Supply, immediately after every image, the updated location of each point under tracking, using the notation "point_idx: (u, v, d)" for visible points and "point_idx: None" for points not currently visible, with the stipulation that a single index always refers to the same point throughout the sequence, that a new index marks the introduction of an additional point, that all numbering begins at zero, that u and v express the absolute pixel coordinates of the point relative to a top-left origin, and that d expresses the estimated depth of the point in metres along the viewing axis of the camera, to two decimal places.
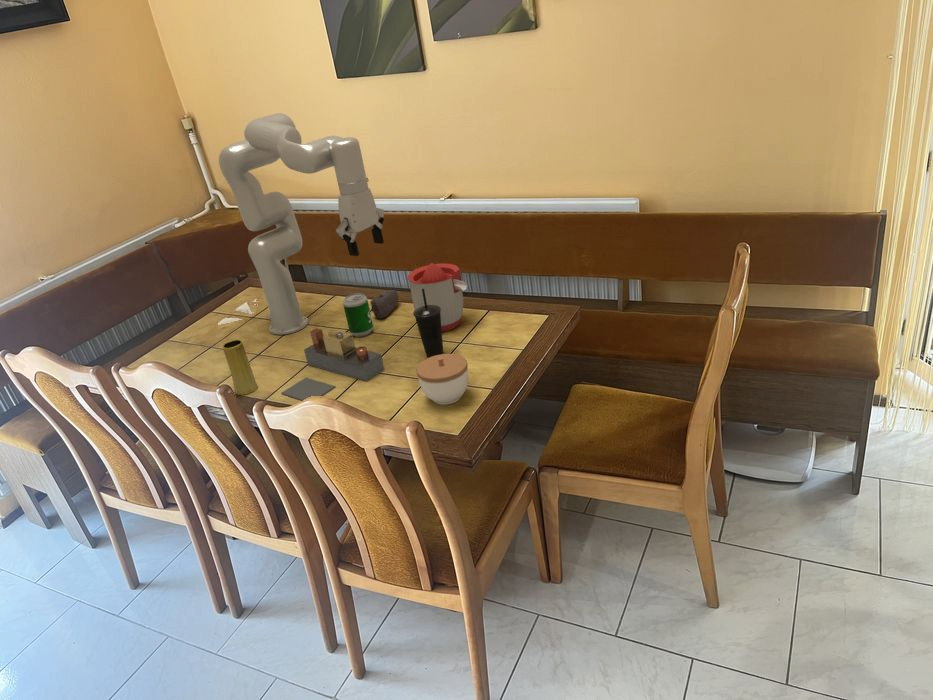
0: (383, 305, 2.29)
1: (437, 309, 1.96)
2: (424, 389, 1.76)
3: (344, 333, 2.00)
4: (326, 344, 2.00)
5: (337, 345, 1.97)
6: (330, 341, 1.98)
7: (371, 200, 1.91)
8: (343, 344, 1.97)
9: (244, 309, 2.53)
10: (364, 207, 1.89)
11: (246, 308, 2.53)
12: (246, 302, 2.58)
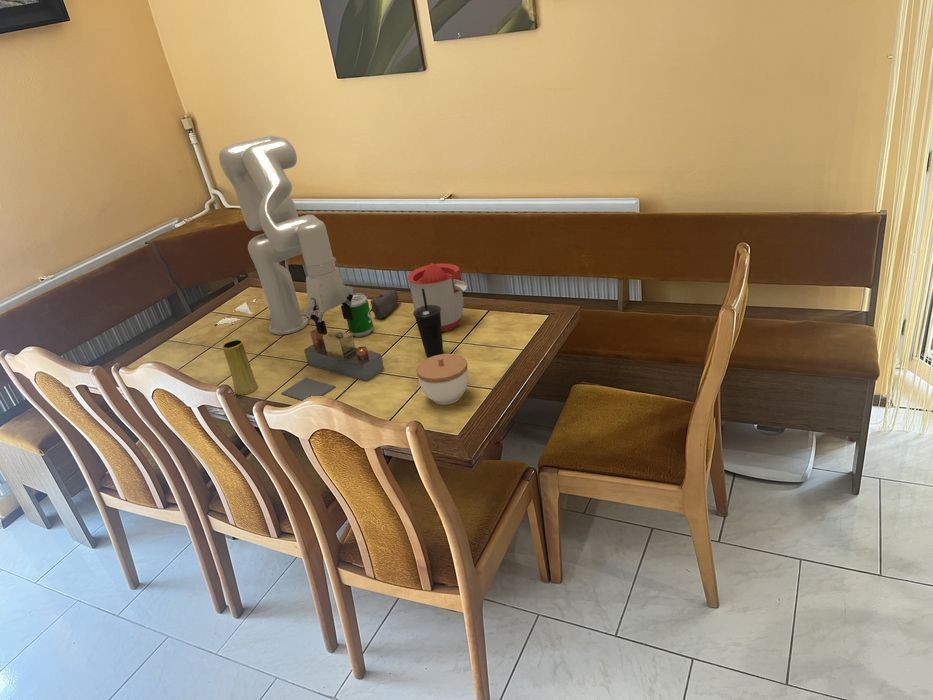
0: (383, 305, 2.29)
1: (437, 309, 1.96)
2: (424, 389, 1.76)
3: (344, 333, 2.00)
4: (326, 344, 2.00)
5: (337, 345, 1.97)
6: (330, 341, 1.98)
7: (338, 280, 1.93)
8: (343, 344, 1.97)
9: (243, 309, 2.54)
10: (332, 287, 1.91)
11: (245, 308, 2.54)
12: (245, 302, 2.58)
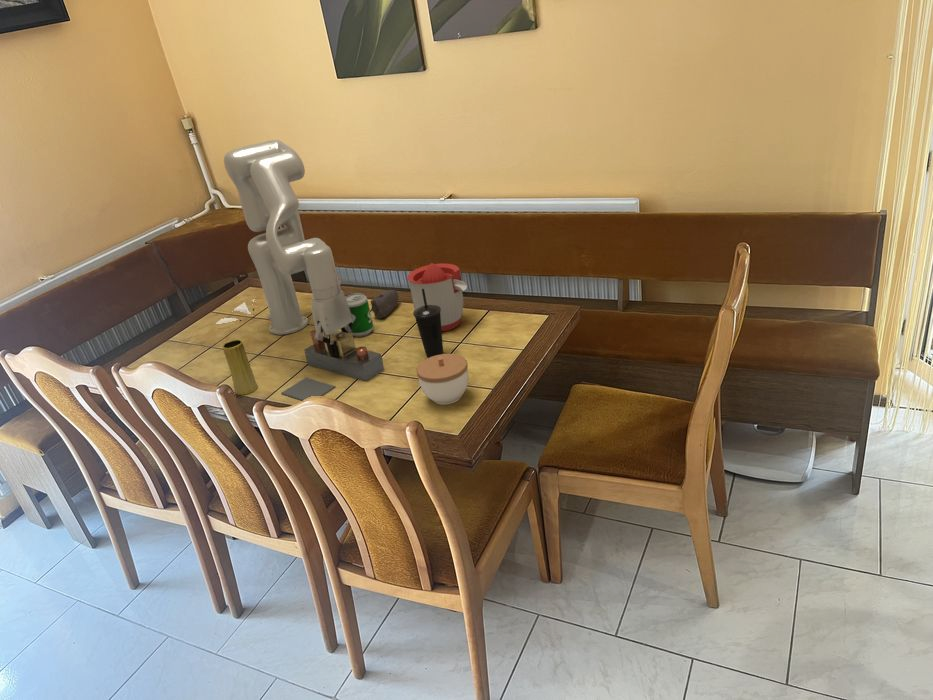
0: (383, 305, 2.29)
1: (437, 309, 1.96)
2: (424, 389, 1.76)
3: (344, 333, 2.00)
4: (326, 344, 2.00)
5: (337, 345, 1.97)
6: None
7: (343, 302, 1.96)
8: (343, 344, 1.97)
9: (242, 309, 2.54)
10: (337, 310, 1.94)
11: (244, 308, 2.54)
12: (244, 302, 2.59)
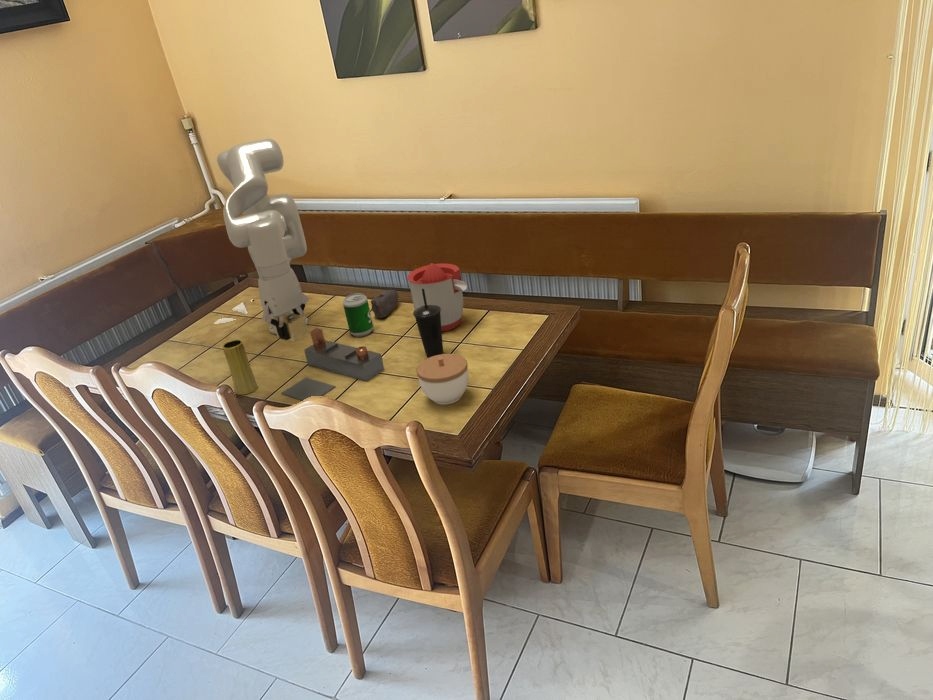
0: (384, 305, 2.29)
1: (437, 309, 1.96)
2: (424, 389, 1.76)
3: (295, 315, 1.85)
4: None
5: (288, 327, 1.82)
6: None
7: (294, 281, 1.81)
8: (293, 327, 1.82)
9: (240, 309, 2.54)
10: (286, 289, 1.80)
11: (242, 308, 2.54)
12: (242, 302, 2.59)
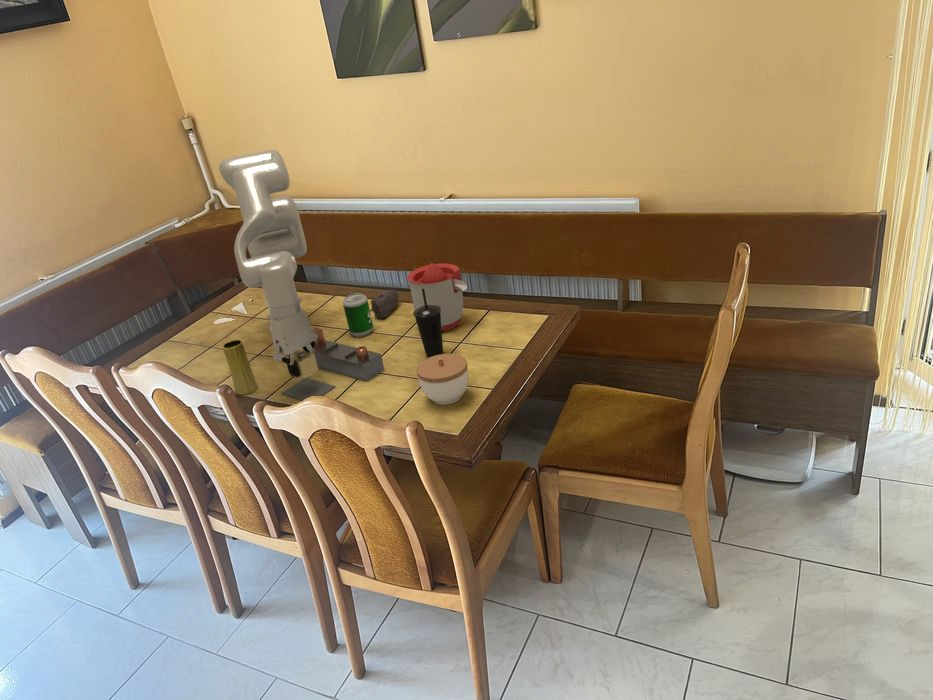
0: (384, 305, 2.29)
1: (437, 309, 1.96)
2: (424, 389, 1.76)
3: (306, 353, 1.90)
4: None
5: (298, 365, 1.87)
6: None
7: (304, 321, 1.86)
8: (304, 365, 1.87)
9: (239, 309, 2.54)
10: (297, 329, 1.85)
11: (241, 308, 2.54)
12: (241, 302, 2.59)
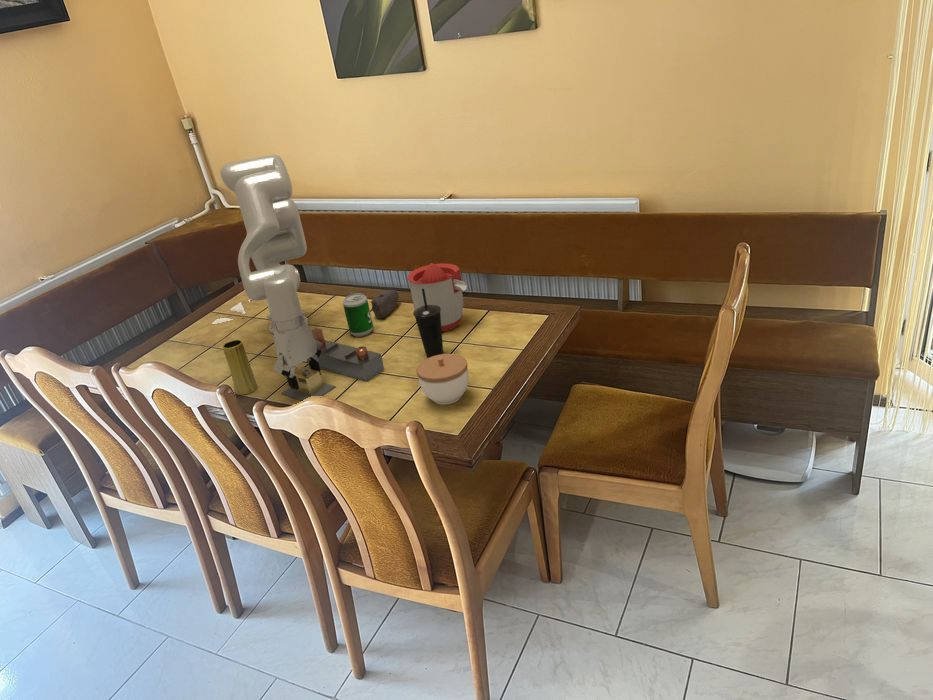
0: (384, 305, 2.29)
1: (437, 309, 1.96)
2: (424, 389, 1.76)
3: (311, 370, 1.93)
4: None
5: (304, 383, 1.90)
6: None
7: (308, 333, 1.88)
8: (309, 382, 1.90)
9: (238, 309, 2.54)
10: (300, 341, 1.86)
11: (240, 308, 2.54)
12: (240, 302, 2.59)
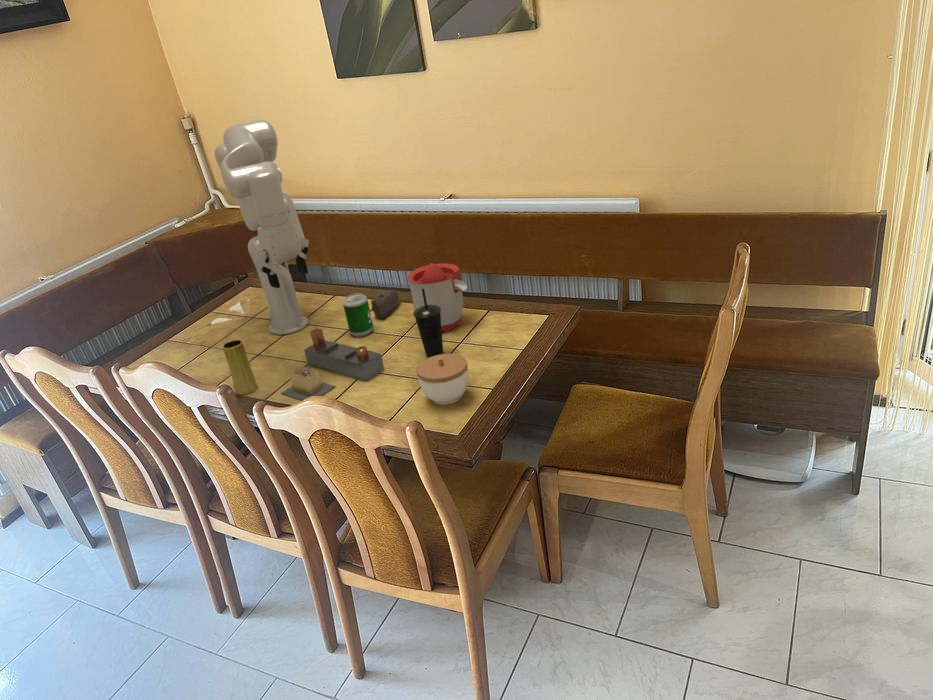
0: (384, 305, 2.29)
1: (437, 309, 1.96)
2: (424, 389, 1.76)
3: (311, 370, 1.93)
4: (292, 382, 1.93)
5: (304, 383, 1.90)
6: (296, 379, 1.91)
7: (292, 231, 1.87)
8: (309, 382, 1.90)
9: (237, 309, 2.54)
10: (285, 239, 1.85)
11: (239, 308, 2.54)
12: (239, 302, 2.59)
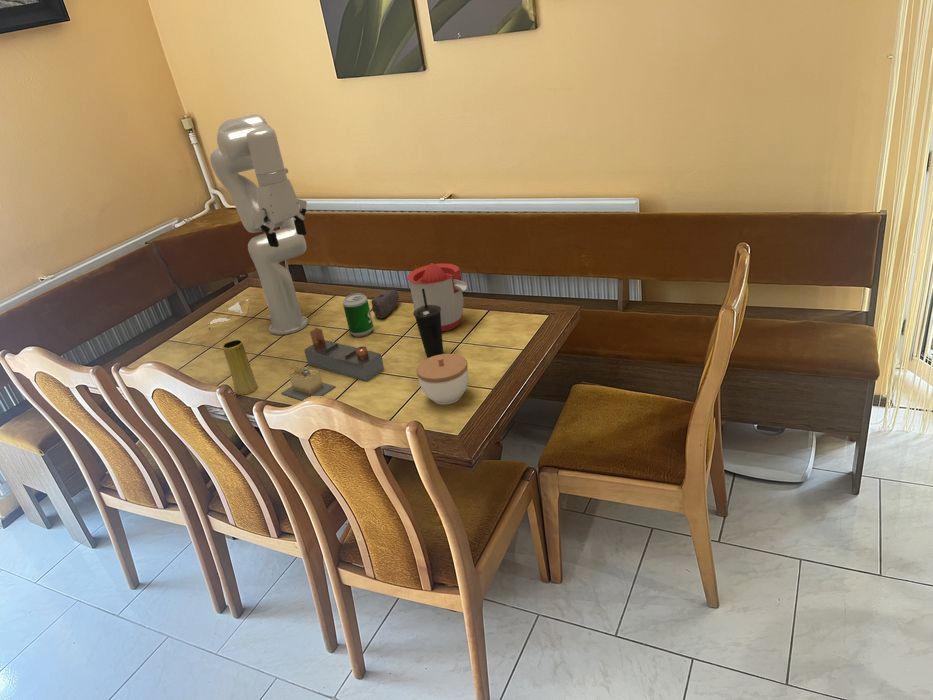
0: (384, 305, 2.29)
1: (437, 309, 1.96)
2: (424, 389, 1.76)
3: (311, 370, 1.93)
4: (292, 382, 1.93)
5: (304, 383, 1.90)
6: (296, 379, 1.91)
7: (290, 191, 1.91)
8: (309, 382, 1.90)
9: (235, 309, 2.55)
10: (283, 198, 1.89)
11: (237, 308, 2.55)
12: (238, 302, 2.59)
